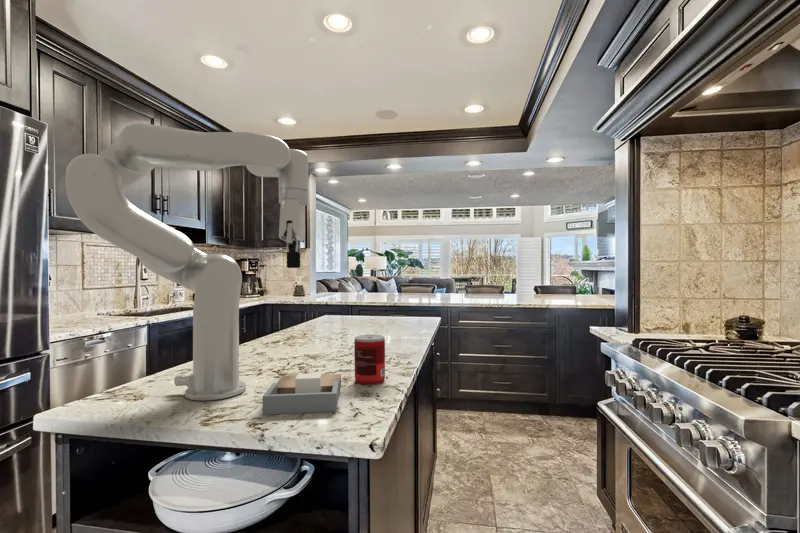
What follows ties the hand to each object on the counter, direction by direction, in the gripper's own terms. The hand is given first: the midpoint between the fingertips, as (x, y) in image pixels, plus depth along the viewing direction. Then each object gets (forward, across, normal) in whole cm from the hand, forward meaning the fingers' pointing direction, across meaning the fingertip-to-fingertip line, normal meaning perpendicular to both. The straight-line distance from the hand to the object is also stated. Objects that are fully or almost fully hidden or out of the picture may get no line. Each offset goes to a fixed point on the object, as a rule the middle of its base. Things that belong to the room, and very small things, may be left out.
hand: (293, 267), depth 102 cm
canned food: (+29, +5, +20) cm, 35 cm away
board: (+29, +13, +6) cm, 32 cm away
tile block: (+26, +18, +7) cm, 32 cm away
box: (+29, +22, +7) cm, 37 cm away
